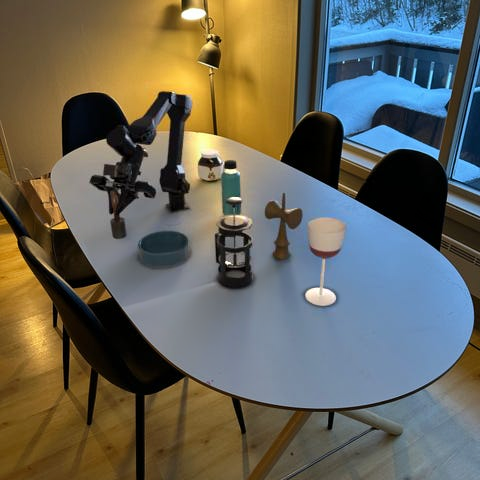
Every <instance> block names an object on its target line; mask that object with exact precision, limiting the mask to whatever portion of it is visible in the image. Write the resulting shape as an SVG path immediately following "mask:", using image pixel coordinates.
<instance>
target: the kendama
mask: <svg viewBox="0 0 480 480" xmlns="http://www.w3.org/2000/svg"><path fill="white" fill-rule="evenodd" d="M303 216H304V215H303V210H302V208H300V207H295V208H293V209H286V193H285V192H282V197H281V204H280V203H279V201H277V200H275V199H271V200H270V201H268V202H267V204H265V208H264V217H265V219H267V220H273V219H280V221H279V227H278V233H277V237H276V238H275V239H274V240H273V244H274V246H275V248H274V250H273V251H272V253H271V254H272V256H273V258H274V259H276V260H279V261H280V260H281V261H283V260H288V259H290V257H291V255H292V254H291V252H290V250H289V246H290V245H291V241H290V240H289V239H288V234H287V227H288V229H290V230H296V229H297V228H298V227H300V225H301V223H302V221H303Z"/></svg>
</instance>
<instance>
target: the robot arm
mask: <svg viewBox="0 0 480 480" xmlns="http://www.w3.org/2000/svg"><path fill="white" fill-rule="evenodd" d="M193 104H194V103H193V99H192V98H191V97H190V95H189V94H180V93H176V92H174V91H167V90H166V91H165V90H161V91H159V92H158V93H157V97H156V98H155V100H154V101H153V102H152V104H151V105H150V107H149V108H148V109H147V111H146V112H144V114H143V115H142V116H141V117H139V118H137V119H134V120H133V121H132V122H131V123H130V124H129V125H128V127H126V126H125V125H120V124H117V126H116V127H115V128H114V129H112V130H110V132H109V133H108V134H107V135H106V138H105V143H106V144H107V145H108V146H109V147H110V148H111V149H112V150H113V151H114V152H115V153H116V154H117V155H118V156H120V157H121V159H120V161H117V162H116V163H115V164H109V163H104V164H103V170H102V175H100V174H93V175H91V177H90V179H89V182H88V183H89V184H90V185H92V186H93V187H94V188H95V189H97V190H98V191H101V192H106V193H107V196H108V213H109V215H114V214H113V207H112V201H111V194H110V192H111V191H112V190H115V191H116V193H117V200H118V205H117V208H116V212H115V215H117V216H118V215H119V214H120V215H121V214H122V212H123V211H125V209H126V208H127V207H128V206H129V205H131V204H132V202H134V201H135V200H138V199H139V198H140V197H139V193H143V196H144V197H145V198H146V199H153V200H154V199H155V198H156V195H157V190H156V187H154V186H153V185H152V184H151V183H150V182H149V181H143V180H137V179H138V176H141V175H142V171H140V169H141V167H142V163H143V160H144V158H148V157H149V153H148V151H147V148H146V147H143V146H151V145H152V144H153V142H154V141H155V139H156V137H157V136H158V135H157V134H158V133H157V132H158V131H157V128H158V126H159V125H160V123H161V122H162V120H163V118H164V117H165V116H166V114H167V116H168V119H169V134H168V143H167V145H168V146H167V155H166V156H167V157H166V164H165V165H164V166H163V167H161V169H160V170H159V171H160V172H159V179H158V180H159V181H158V182H159V186H160V189H161V191H162V193H167V194H168V195H167V197H168V203H166V204H165V206H166V207H167V209H168V210H169V211H170V212H171V213H174V212H179V211H183V210H189V209H190V208H189V205H188V204H187V203H186V195H187V194H189V193H190V190H191V184H190V182H189V181H188V180H187V179H186V172H185V170H184V167H183V166H182V159H183V150H184V148H183V147H184V139H185V125H186V122H187V120H188V119H189V118H190V116H191V113H192V108H193V106H194V105H193ZM142 145H143V146H142ZM107 176H109V178H107ZM110 179H111V180H110ZM119 190H120V192H119Z"/></svg>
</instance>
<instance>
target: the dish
mask: <svg viewBox="0 0 480 480" xmlns="http://www.w3.org/2000/svg"><path fill="white" fill-rule="evenodd" d="M137 250H138V251H137V252H138V257H139V260H140V261H141V262H142V263H143V264H145V265H147V266H151V267H170V266H174V265H178V264H179V263H181V262H183V261H184V260H186V259H187V258H188V256H189V255H190V239H189V237H188V236H187V235H185V234H184V233H182V232H180V231H176V230H158V231H154V232H151V233H148V234H146V235H143V236H142V237H141V238H140V239H139V240H138V242H137Z"/></svg>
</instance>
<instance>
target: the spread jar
mask: <svg viewBox="0 0 480 480" xmlns="http://www.w3.org/2000/svg"><path fill="white" fill-rule="evenodd" d="M200 154H201V156H200V158H199V159H198V160H197V161H198V162H197V175H198V178H199V179H200V180H201V181H203V182H204V183H217V182H218V181H220V180H221V174H222V173H223V172H224V171H225V170H228V169H225V168H224V162H225V161H224V160H222V158H221V157H220V156H219V151H218V150H215V149H205V150H202V151H201V152H200Z"/></svg>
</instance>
